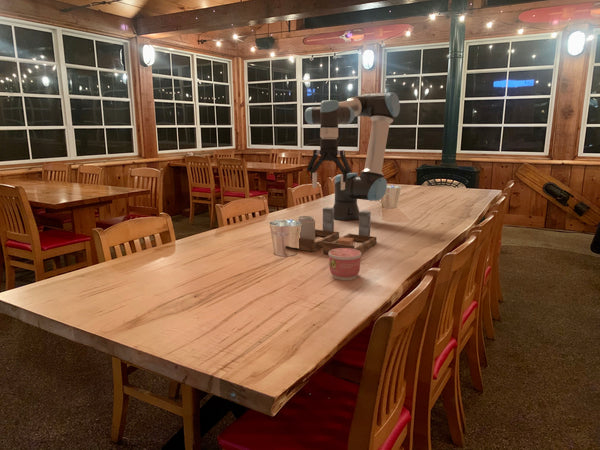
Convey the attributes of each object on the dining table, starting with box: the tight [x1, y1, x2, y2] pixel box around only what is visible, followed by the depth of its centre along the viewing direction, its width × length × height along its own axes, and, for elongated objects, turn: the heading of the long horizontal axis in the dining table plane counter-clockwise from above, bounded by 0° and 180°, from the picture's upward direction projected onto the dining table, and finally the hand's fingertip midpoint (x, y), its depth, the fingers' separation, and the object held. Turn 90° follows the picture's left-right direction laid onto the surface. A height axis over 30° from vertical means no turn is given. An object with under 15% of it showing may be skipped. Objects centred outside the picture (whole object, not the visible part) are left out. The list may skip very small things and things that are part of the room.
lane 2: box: [322, 210, 378, 255], centre depth 173 cm, size 28×12×12 cm, turn 150°
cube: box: [337, 236, 354, 245], centre depth 168 cm, size 5×5×5 cm
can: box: [296, 215, 316, 243], centre depth 175 cm, size 8×8×12 cm
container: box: [328, 248, 362, 281], centre depth 140 cm, size 10×10×8 cm
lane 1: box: [298, 206, 340, 252], centre depth 181 cm, size 28×12×12 cm, turn 150°
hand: (328, 188), depth 188 cm, fingers open, 13 cm apart
